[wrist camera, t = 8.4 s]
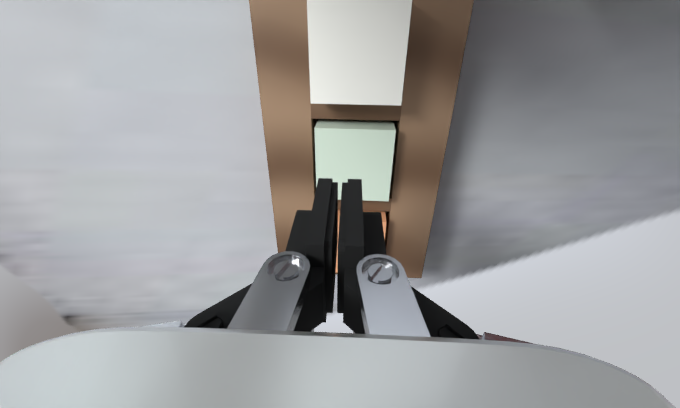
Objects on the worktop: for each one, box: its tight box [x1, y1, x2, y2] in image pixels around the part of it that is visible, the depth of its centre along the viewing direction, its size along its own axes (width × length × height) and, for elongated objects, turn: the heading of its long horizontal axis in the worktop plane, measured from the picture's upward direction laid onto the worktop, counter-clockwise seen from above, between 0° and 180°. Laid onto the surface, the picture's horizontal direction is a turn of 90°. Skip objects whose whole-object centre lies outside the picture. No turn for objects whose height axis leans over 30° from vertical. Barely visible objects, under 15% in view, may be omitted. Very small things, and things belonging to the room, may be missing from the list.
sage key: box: [314, 119, 396, 201], centre depth 20 cm, size 5×5×3 cm
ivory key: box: [307, 0, 412, 106], centre depth 16 cm, size 5×5×3 cm
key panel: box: [249, 0, 474, 278], centre depth 21 cm, size 19×11×3 cm, turn 0°
